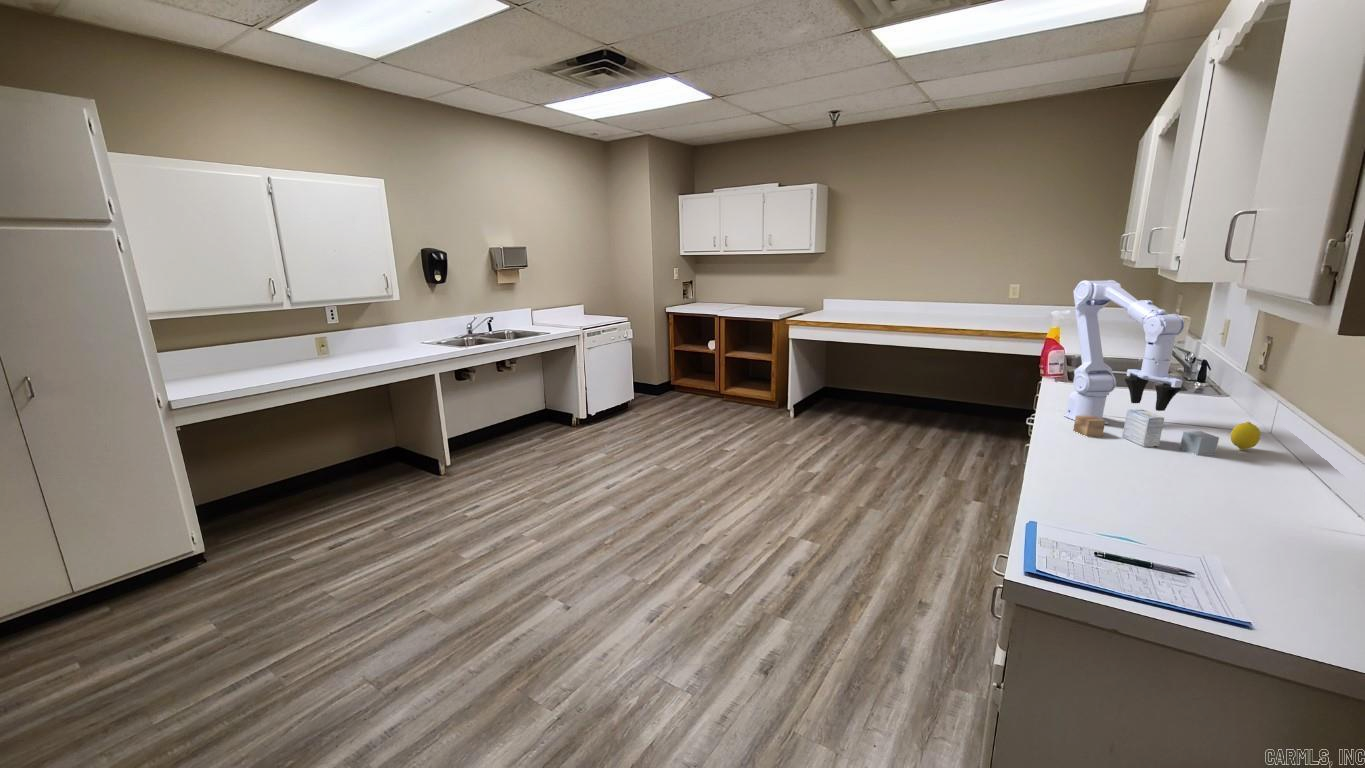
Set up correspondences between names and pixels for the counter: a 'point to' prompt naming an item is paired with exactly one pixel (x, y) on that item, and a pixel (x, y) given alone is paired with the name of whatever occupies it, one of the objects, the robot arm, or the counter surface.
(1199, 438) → the slate block
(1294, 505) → the counter surface
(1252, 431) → the lemon
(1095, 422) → the walnut block
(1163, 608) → the counter surface
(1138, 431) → the medicine box
